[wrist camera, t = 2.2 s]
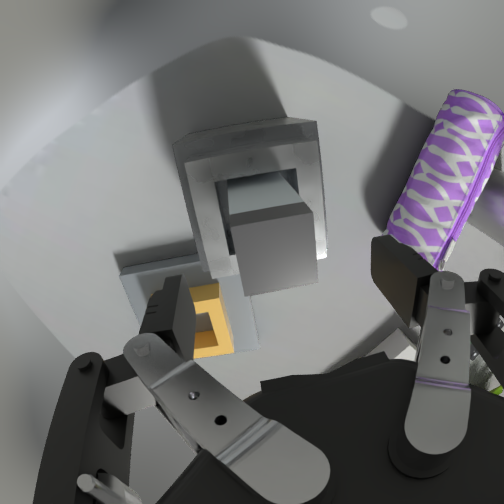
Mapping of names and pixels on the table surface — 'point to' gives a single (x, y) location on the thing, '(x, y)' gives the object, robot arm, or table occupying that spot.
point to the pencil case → (448, 176)
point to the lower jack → (199, 303)
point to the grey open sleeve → (240, 165)
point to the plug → (271, 234)
